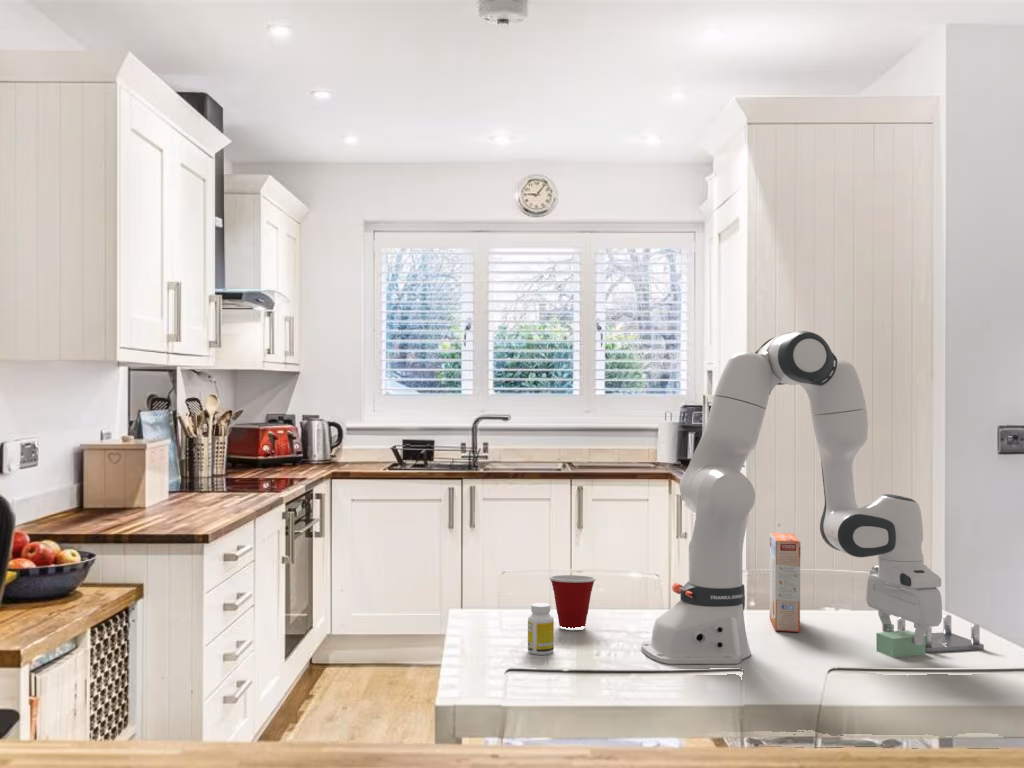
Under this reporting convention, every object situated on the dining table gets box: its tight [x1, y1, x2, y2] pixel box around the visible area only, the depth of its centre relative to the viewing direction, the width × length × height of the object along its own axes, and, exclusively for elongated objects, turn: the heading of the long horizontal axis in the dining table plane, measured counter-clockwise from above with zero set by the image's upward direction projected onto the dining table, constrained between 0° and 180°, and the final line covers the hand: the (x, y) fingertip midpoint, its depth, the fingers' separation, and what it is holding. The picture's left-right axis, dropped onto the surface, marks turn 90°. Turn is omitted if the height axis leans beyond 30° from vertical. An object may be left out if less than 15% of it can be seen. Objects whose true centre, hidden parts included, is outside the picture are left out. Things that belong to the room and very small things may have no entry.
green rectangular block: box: [875, 629, 926, 658], centre depth 184 cm, size 8×5×4 cm, turn 107°
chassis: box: [896, 614, 985, 654], centre depth 190 cm, size 14×11×5 cm
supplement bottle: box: [527, 602, 555, 656], centre depth 183 cm, size 5×5×10 cm
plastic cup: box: [548, 574, 597, 628], centre depth 203 cm, size 11×11×12 cm
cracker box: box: [769, 532, 802, 633], centre depth 207 cm, size 14×6×21 cm, turn 168°
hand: (902, 638), depth 184 cm, fingers open, 8 cm apart
